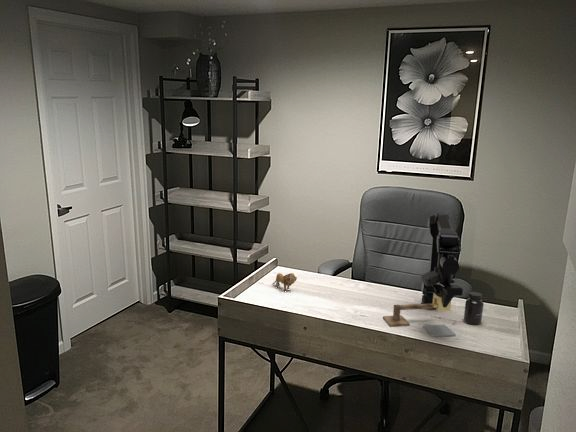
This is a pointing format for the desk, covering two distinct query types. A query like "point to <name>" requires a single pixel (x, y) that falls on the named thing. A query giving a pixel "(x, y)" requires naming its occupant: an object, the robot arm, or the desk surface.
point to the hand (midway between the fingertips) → (441, 304)
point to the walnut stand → (399, 319)
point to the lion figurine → (285, 280)
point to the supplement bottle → (473, 309)
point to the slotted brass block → (439, 302)
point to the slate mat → (439, 330)
